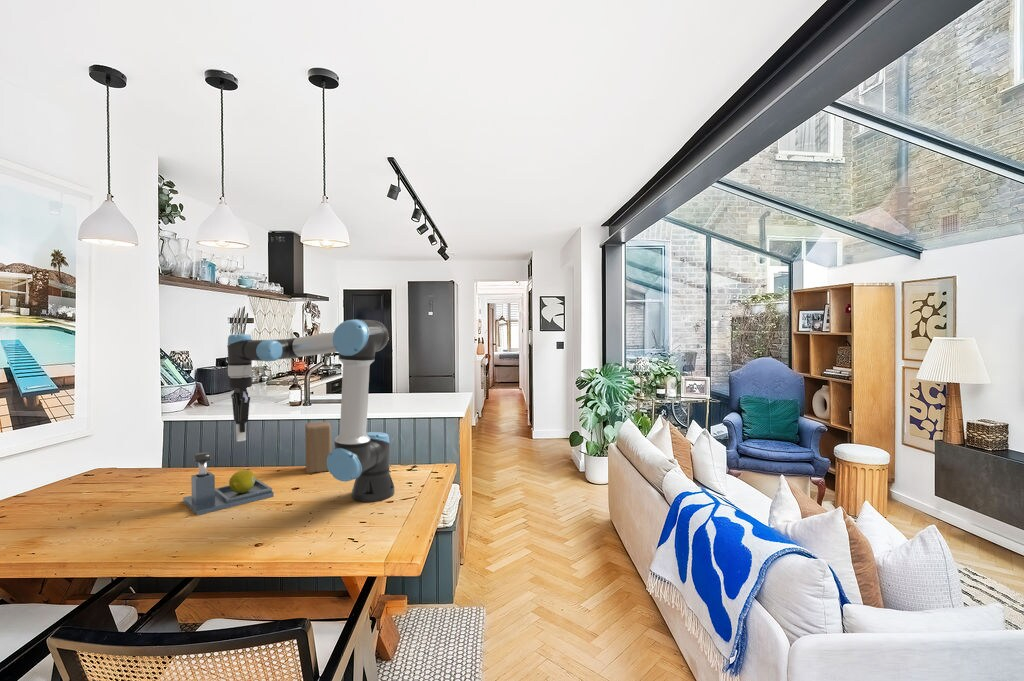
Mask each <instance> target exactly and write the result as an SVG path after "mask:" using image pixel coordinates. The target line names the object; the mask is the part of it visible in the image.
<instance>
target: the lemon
mask: <svg viewBox="0 0 1024 681" xmlns="http://www.w3.org/2000/svg"><path fill="white" fill-rule="evenodd" d="M255 480H256V475H255V473H254V472H253V471H251V470H249V469H241V470H239V471H236V472H235V473H234V474H232V475H231V477H230V479H229V483H228V484H229V485H228V486H230V488H231V490H232V491H234V492H236V493H245V492H247V491H249V490H250V489H251V488H252V487H253V485H254V483H255Z"/></svg>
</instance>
